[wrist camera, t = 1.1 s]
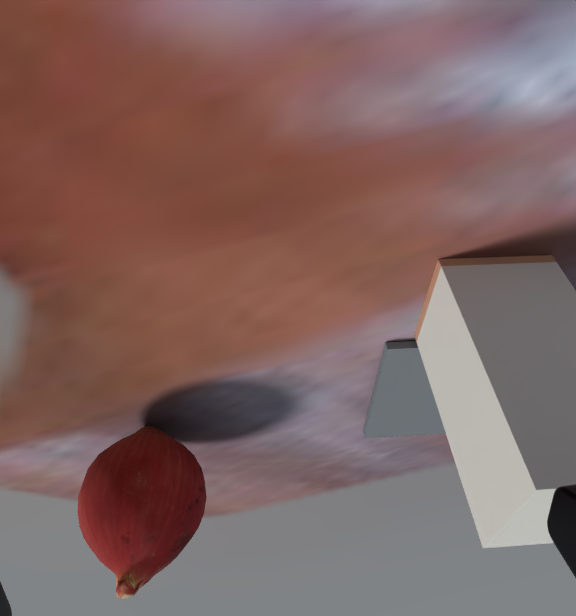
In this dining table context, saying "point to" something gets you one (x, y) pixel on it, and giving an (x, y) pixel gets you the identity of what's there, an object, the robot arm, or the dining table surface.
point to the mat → (402, 396)
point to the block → (504, 386)
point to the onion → (141, 505)
